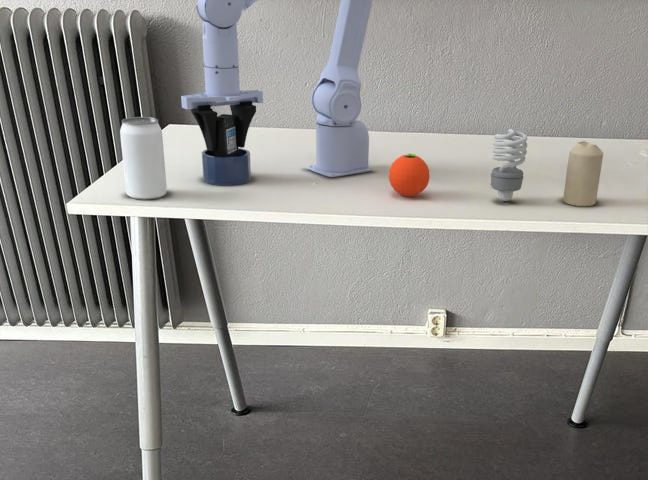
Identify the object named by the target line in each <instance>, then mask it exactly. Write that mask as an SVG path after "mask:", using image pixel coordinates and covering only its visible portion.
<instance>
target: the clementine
mask: <svg viewBox="0 0 648 480" xmlns="http://www.w3.org/2000/svg"><path fill="white" fill-rule="evenodd" d="M430 176H431V175H430V169H429V166H428V164H427V163H426V161H425V160H424V159H423V158H422V157H420V156H418V155H416V153H406V154H403V155H400V156H399V157H398V158H396V159H395V160H394V161H393V162H392V163H391V165H390V168H389V171H388V181H389V184H390V186H391V188H392V189H393V190H394V191H395V192H396V193H397V194H399V195H400V196H403V197H409V198H410V197H415V196H417V195H419V194H421V193H422V192H423V191H424V190H426V188H427V187H428V184H429V183H430Z"/></svg>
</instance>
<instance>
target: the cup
mask: <svg viewBox="0 0 648 480" xmlns="http://www.w3.org/2000/svg"><path fill="white" fill-rule="evenodd" d="M239 155H240V156H236V157H215V152H214V151H210V150H207V149H204V150H203V151H201V164H202V176H203V182H205V183H206V184H209V185H214V186H239V185H244V184H247V183H249V182H250V181H251V177H252V167H251V152H250V151H249V150H248V149H245V148H240V147H239Z"/></svg>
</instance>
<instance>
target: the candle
mask: <svg viewBox="0 0 648 480" xmlns="http://www.w3.org/2000/svg"><path fill="white" fill-rule="evenodd" d="M603 158H604V151H603V150H602V149H601V148H600V147H599V146H598V145H597V144H594V143H591V142H588V141H585V140H581V141H578V142H577V143H576V144H575V145H573V146H572V147H571V148H570V149H569V150H568V160H567V167H566V173H565V181H564V190H563V198H562V200H563V202H564V203H565V204H568V205H571V206H576V207H591V206H594V205H596V204H597V198H598V191H599V185H600V178H601V172H602V164H603Z"/></svg>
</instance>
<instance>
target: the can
mask: <svg viewBox="0 0 648 480" xmlns="http://www.w3.org/2000/svg"><path fill="white" fill-rule="evenodd" d="M119 136H120V145H121V147H120V148H121V156H122V166H123V174H124V185H125V193H126V195H127V196H128V197H129V198H131V199H135V200H140V201H141V200H142V201H146V200H148V201H149V200H156V199H161V198H163V197H165V196H166V194H167V192H168V185H167V175H166V174H167V173H166V161H165V152H164V149H165V148H164V137H163V130H162V128H161V126H160V124H159V119H158V118H155V117H148V116H135V117H132V116H131V117H127V118H126V117H125V118H123V119H121V126H120V130H119Z"/></svg>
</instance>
